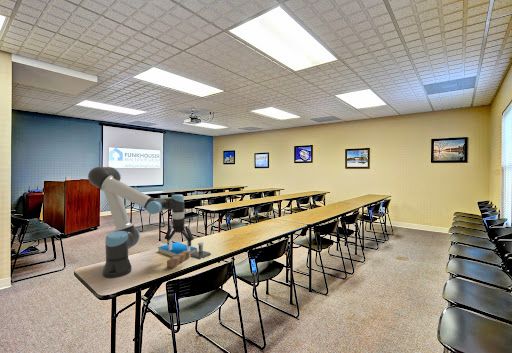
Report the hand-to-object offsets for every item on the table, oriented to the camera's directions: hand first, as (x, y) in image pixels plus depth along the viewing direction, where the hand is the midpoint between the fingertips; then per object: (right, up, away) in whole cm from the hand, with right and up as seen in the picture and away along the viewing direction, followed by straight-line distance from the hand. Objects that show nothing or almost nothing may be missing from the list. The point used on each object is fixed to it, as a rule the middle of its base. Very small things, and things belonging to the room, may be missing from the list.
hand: (179, 250), depth 164 cm
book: (-8, -8, +22) cm, 25 cm away
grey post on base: (+11, -8, +14) cm, 20 cm away
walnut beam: (0, -9, 0) cm, 9 cm away
